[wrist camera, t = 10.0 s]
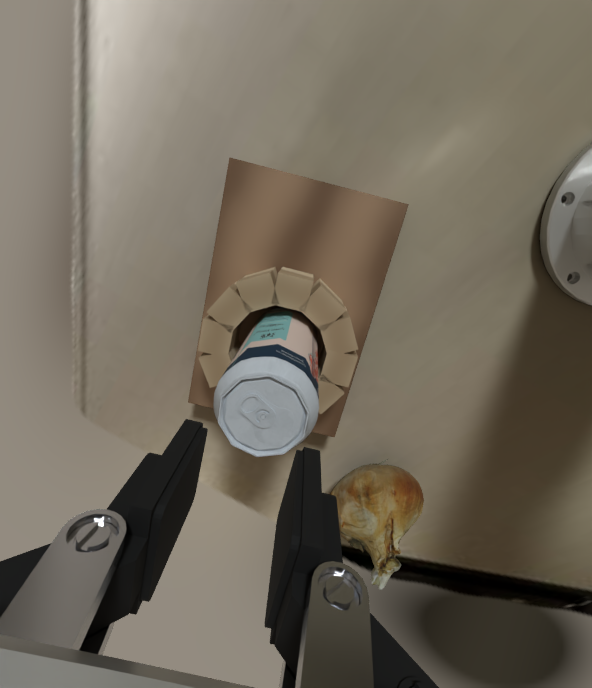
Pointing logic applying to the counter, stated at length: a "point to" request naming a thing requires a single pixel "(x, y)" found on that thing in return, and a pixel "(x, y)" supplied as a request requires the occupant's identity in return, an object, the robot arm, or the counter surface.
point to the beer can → (271, 385)
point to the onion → (378, 513)
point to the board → (304, 245)
